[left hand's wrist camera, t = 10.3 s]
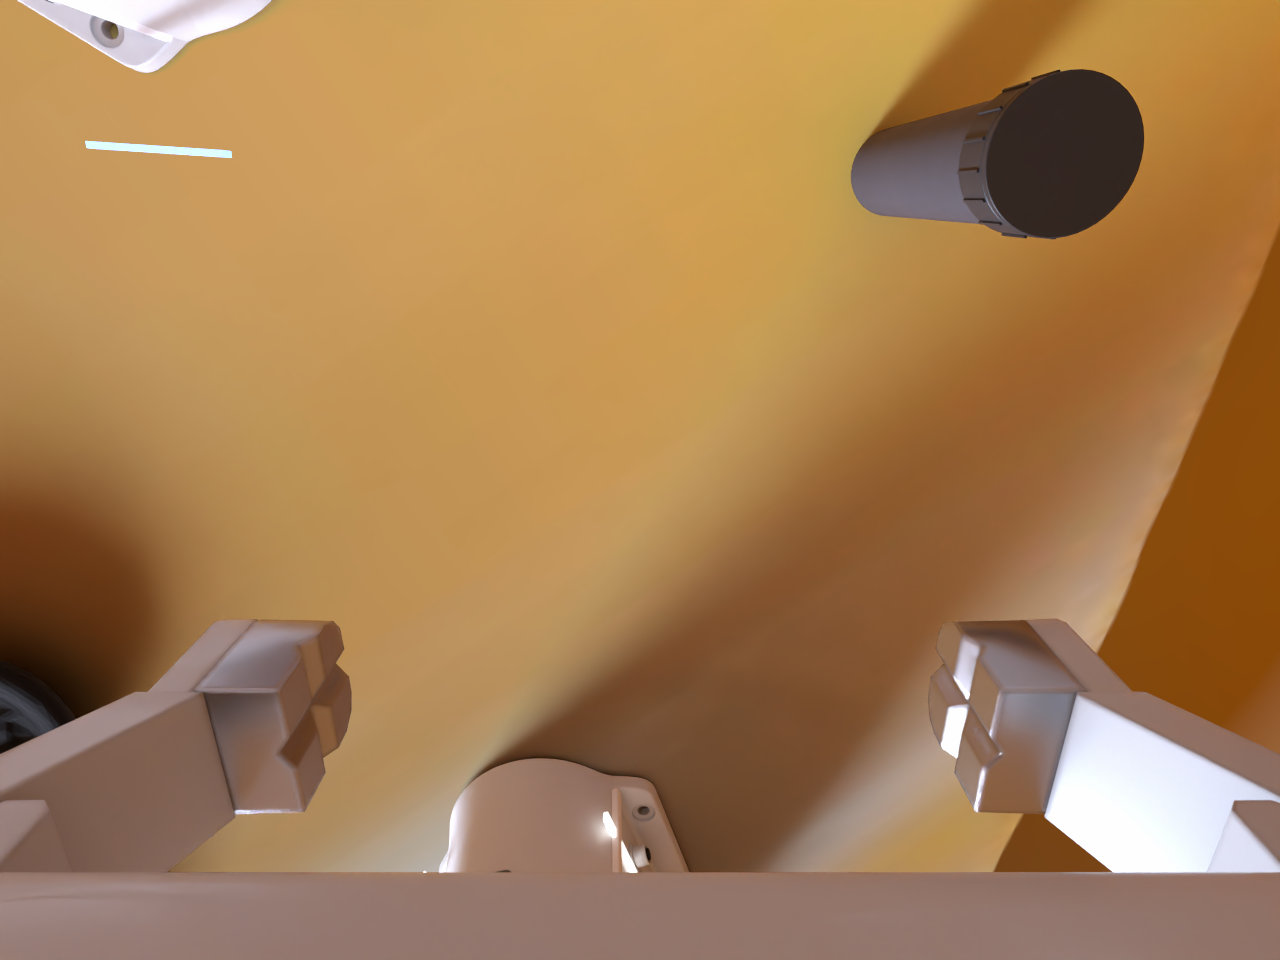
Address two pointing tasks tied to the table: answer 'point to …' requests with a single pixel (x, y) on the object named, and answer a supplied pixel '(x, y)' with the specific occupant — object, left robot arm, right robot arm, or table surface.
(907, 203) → the dark grey cylinder
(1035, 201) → the lid
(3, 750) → the oil lamp
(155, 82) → the table surface
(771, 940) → the left robot arm
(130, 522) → the table surface
